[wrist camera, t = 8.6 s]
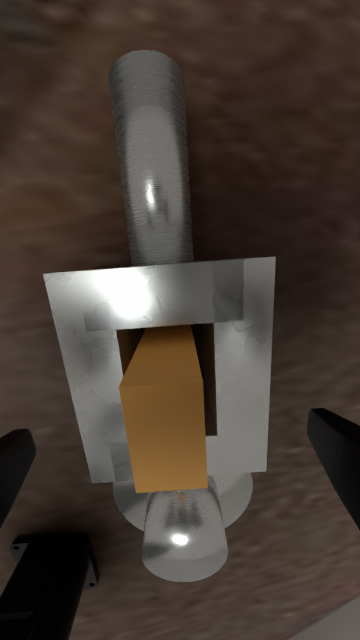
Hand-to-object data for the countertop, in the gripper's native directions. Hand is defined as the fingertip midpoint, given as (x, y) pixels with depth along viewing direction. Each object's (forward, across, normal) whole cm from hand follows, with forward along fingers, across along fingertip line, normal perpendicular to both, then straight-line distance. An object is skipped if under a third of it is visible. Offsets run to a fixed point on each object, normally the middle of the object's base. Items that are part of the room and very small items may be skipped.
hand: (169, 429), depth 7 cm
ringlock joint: (+8, 0, 0) cm, 8 cm away
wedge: (+8, 0, 0) cm, 8 cm away
